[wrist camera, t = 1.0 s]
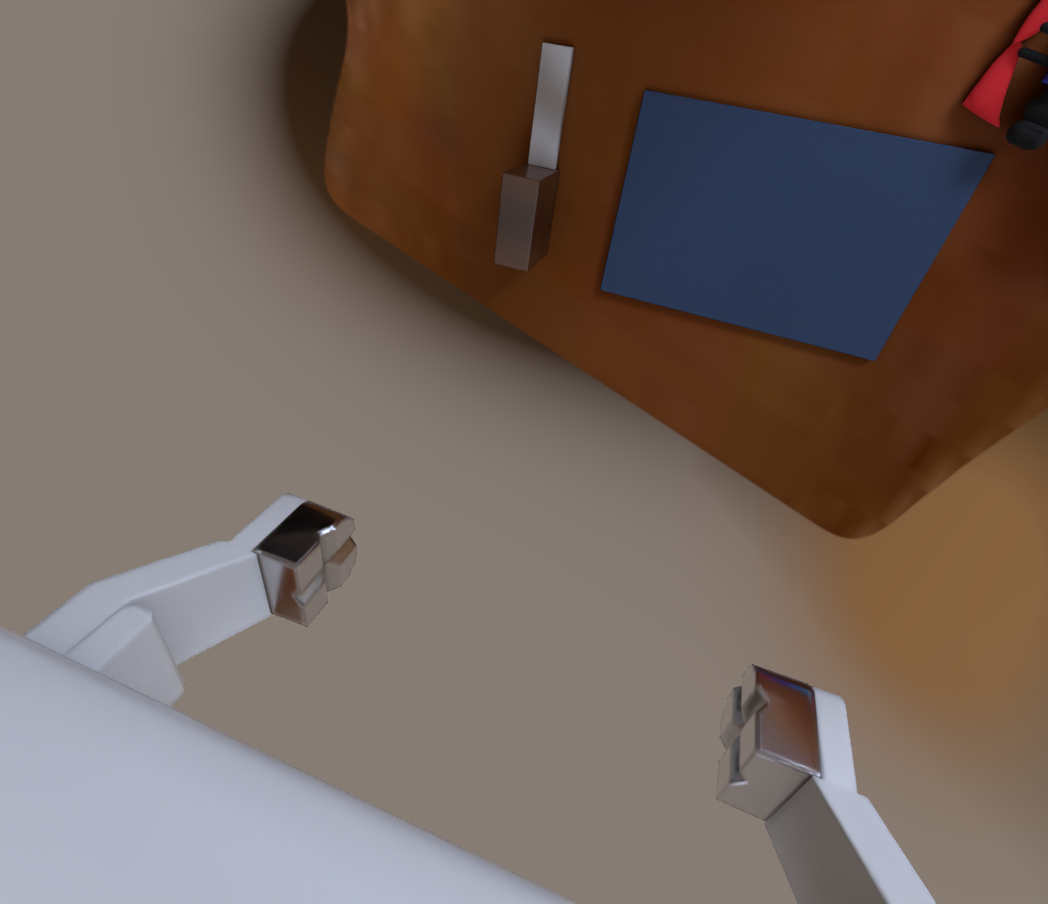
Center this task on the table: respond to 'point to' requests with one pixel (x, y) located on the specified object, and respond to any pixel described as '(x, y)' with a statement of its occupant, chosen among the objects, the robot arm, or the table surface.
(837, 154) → the desk mat
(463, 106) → the table surface
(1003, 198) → the table surface
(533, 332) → the table surface
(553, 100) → the letter opener
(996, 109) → the toy figure
